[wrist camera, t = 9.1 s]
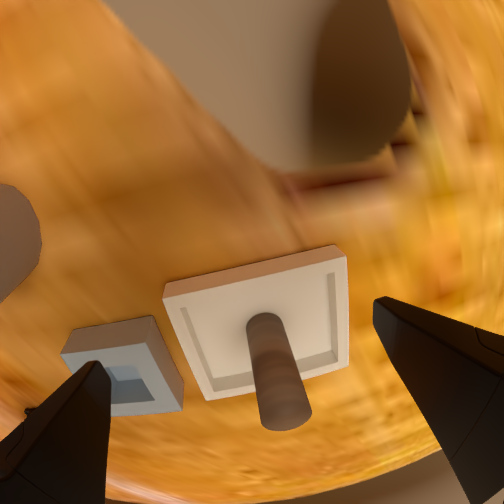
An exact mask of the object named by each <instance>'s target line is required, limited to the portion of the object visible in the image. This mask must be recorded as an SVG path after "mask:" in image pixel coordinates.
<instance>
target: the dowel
mask: <svg viewBox="0 0 504 504" xmlns="http://www.w3.org/2000/svg"><path fill="white" fill-rule="evenodd" d="M246 334H247V341H248V347H249V353H250V359H251V365H252V371H253V377H254V383H255V389H256V395H257V401H258V407H259V413H260V419H261V424H262V425H263V426H264V427H265V428H267V429H269V430H273V431H286V430H291V429H294V428H297V427H299V426H301V425H302V424H304V423H305V422H307V421H308V420H309V418H310V417H311V414H312V410H311V407H310V404H309V401H308V398H307V395H306V392H305V388H304V385H303V382H302V379H301V376H300V373H299V370H298V367H297V364H296V361H295V358H294V355H293V352H292V349H291V346H290V343H289V340H288V337H287V334H286V331H285V328H284V325H283V322H282V320H281V319H280V317H279V316H277V315H275V314H273V313H260V314H257V315H255V316H253V317H252V318H251V319H250V320H249V321H248V323H247V325H246Z"/></svg>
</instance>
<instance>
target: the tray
mask: <svg viewBox="0 0 504 504" xmlns="http://www.w3.org/2000/svg"><path fill="white" fill-rule="evenodd" d="M162 301H163V303H164V306H165V308H166V311H167V313H168V316H169V318H170V321H171V323H172V326H173V328H174V331H175V333H176V336H177V338H178V340H179V343H180V345H181V347H182V350H183V352H184V354H185V356H186V359H187V361H188V363H189V365H190V368H191V370H192V372H193V374H194V376H195V379H196V381H197V383H198V385H199V387H200V389H201V391H202V393H203V395H204V397H205V399H206V401H208V400H214V399H220V398H226V397H231V396H236V395H241V394H246V393H251V392H256V389H255V383H254V377H253V371H252V365H251V359H250V353H249V347H248V341H247V334H246V325H247V323H248V321H249V320H250V319H251V318H252V317H253V316H255V315H257V314H260V313H273V314H275V315H277V316H279V317H280V319H281V320H282V322H283V325H284V328H285V331H286V334H287V337H288V340H289V343H290V346H291V349H292V352H293V355H294V358H295V361H296V364H297V367H298V370H299V373H300V376H301V379H302V380H304V379H308V378H311V377H315V376H318V375H322V374H325V373H328V372H332V371H335V370H338V369H341V368H344V367H347V366H349V301H348V274H347V256H346V255H345V254H344V253H343V252H342V251H341V250H340V249H339V248H338V247H337V246H336V245H335V244H334V245H330V246H326V247H321V248H317V249H313V250H309V251H304V252H300V253H296V254H292V255H287V256H283V257H279V258H275V259H270V260H266V261H262V262H257V263H253V264H249V265H244V266H240V267H236V268H231V269H227V270H223V271H218V272H214V273H209V274H205V275H200V276H196V277H192V278H187V279H183V280H178V281H174V282H169V283H166V285H165V289H164V293H163V296H162Z"/></svg>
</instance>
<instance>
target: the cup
mask: <svg viewBox="0 0 504 504" xmlns="http://www.w3.org/2000/svg"><path fill="white" fill-rule="evenodd" d="M41 247H42V241H41V234H40V227H39V221H38V219H37V217H36V214H35V212H34V210H33V208H32V206H31V204H30V202H29V200H28V199H27V198H26V197H25V196H24V195H23V194H22V193H21V192H20V191H19V190H17V189H16V188H15V187H14V186H9V185H5V184H0V303H1V302H2V301H3V300H4V299H5V298H6V297H7V296H8V295H9V294H10V293H11V292H12V291H13V290H14V289H15V288H16V287H17V286H18V285H19V284H20V283H21V282H22V281H23V280H24V279H25V278H26V277H27V276H28V275H29V274H30V273H31V271H32V270H33V269H34V268H35V267H36V265H37V264H38V261H39V256H40V251H41Z"/></svg>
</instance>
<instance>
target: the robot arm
mask: <svg viewBox="0 0 504 504" xmlns="http://www.w3.org/2000/svg"><path fill="white" fill-rule="evenodd" d="M373 325H374V328H375V330H376V332H377V334H378V336H379V338H380V340H381V342H382V344H383V346H384V348H385V350H386V353H387V355H388V357H389V359H390V361H391V363H392V365H393V366H394V368H395V370H396V371H397V373H398V374H399V376H400V378H401V379H402V381H403V382H404V384H405V386H406V387H407V389H408V391H409V392H410V394H411V396H412V397H413V399H414V401H415V402H416V404H417V406H418V407H419V409H420V411H421V413H422V414H423V416H424V418H425V419H426V421H427V423H428V425H429V426H430V428H431V430H432V432H433V433H434V435H435V437H436V439H437V441H438V442H439V444H440V446H441V448H442V450H443V451H444V453H445V455H446V457H447V459H448V461H450V462H449V463H450V465H451V467H452V468H453V470H454V472H455V474H456V476H457V478H458V480H459V482H460V484H461V486H462V488H463V490H464V492H465V494H466V496H467V498H468V500H469V502H470V504H483V503H484V502H485V501H487V500H489V499H490V498H491V497H492V496H494V495H495V494H496V493H497V492H499V491H500V490H501V489H502V488H504V336H502V335H498V334H495V333H492V332H489V331H486V330H483V329H480V328H477V327H475V328H474V326H471V325H468V324H466V323H463V322H460V321H457V320H454V319H451V318H448V317H445V316H442V315H440V314H437V313H434V312H431V311H428V310H425V309H422V308H419V307H416V306H413V305H411V304H408V303H405V302H402V301H399V300H396V299H393V298H390V297H387V296H384V297H380V298H377V299H375V300H374V302H373ZM111 389H112V382H111V378H110V376H109V375H108V373H107V372H106V370H105V368H104V367H103V365H102V364H101V362H100V361H98V360H93V361H88V362H86V363H85V364H84V365H83V366H82V367H81V368H80V369H78V370H77V371H76V372H75V373H74V374H73V375H72V376H71V377H70V378H69V379H68V380H66V381H65V382H64V383H63V384H62V385H61V386H60V387H59V388H58V389H57V390H56V391H55V392H53V393H52V394H51V395H50V396H49V397H48V398H47V399H46V400H45V401H44V402H43V403H42V404H41V405H40V406H38V407H37V408H36V409H25V411H24V413H25V414H26V415H27V418H26V419H25V420H24V421H23V422H22V423H21V424H19V425H18V426H17V427H16V428H15V429H14V430H13V431H12V432H11V433H10V434H9V435H8V436H7V437H5V438H4V439H3V440H2V441H1V442H0V504H105V487H106V468H107V454H108V443H109V433H110V423H111ZM503 504H504V501H503Z"/></svg>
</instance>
